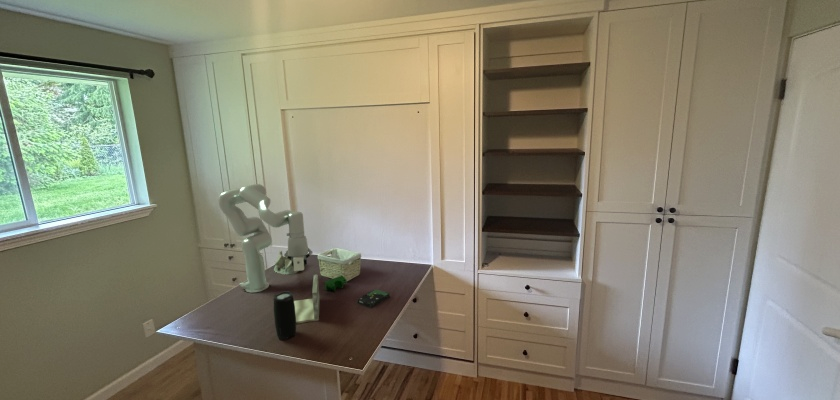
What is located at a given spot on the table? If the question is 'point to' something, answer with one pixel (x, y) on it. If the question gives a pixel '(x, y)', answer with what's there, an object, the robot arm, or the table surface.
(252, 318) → the table surface
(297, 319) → the curved railed panel
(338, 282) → the clamp
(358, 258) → the storage basket
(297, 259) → the mini cabinet
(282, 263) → the ceramic cottage
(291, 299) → the portable speaker
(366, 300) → the disk drive
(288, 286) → the table surface
